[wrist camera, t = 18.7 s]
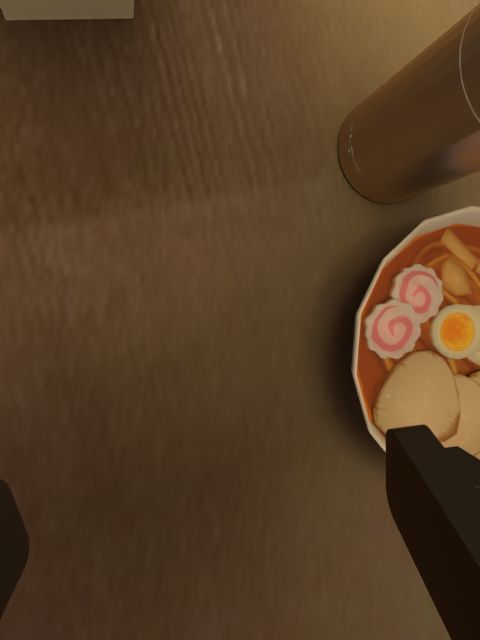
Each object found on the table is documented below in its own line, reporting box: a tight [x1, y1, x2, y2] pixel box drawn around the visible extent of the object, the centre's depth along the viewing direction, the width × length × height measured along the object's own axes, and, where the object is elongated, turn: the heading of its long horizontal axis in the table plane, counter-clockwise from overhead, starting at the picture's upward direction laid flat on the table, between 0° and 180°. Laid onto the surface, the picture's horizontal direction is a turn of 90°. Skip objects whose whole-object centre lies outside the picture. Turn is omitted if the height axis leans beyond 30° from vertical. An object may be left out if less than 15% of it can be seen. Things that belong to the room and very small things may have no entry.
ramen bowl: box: [351, 205, 480, 460], centre depth 37 cm, size 25×23×8 cm
